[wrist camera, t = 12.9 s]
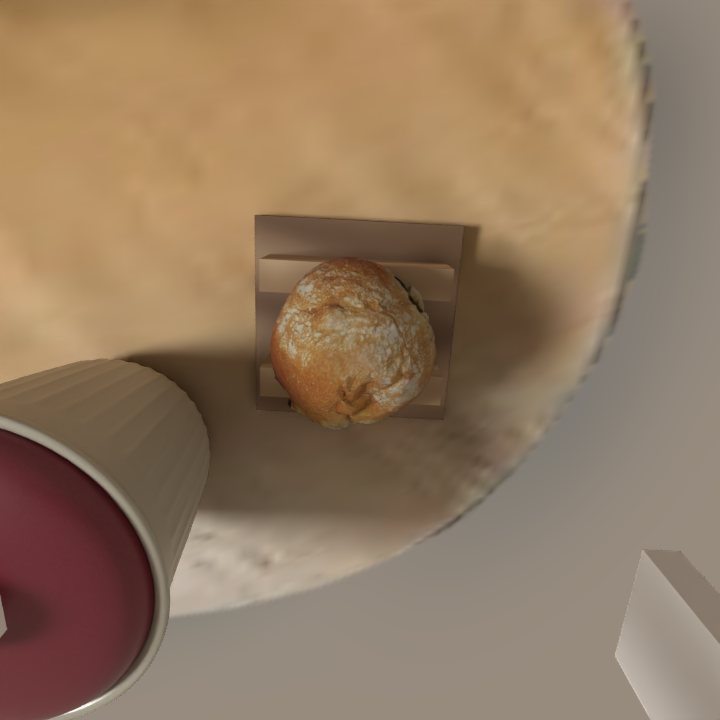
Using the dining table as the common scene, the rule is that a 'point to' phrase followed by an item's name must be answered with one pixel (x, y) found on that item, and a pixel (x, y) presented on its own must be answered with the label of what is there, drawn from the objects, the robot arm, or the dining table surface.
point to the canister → (91, 529)
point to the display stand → (370, 241)
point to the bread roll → (352, 344)
